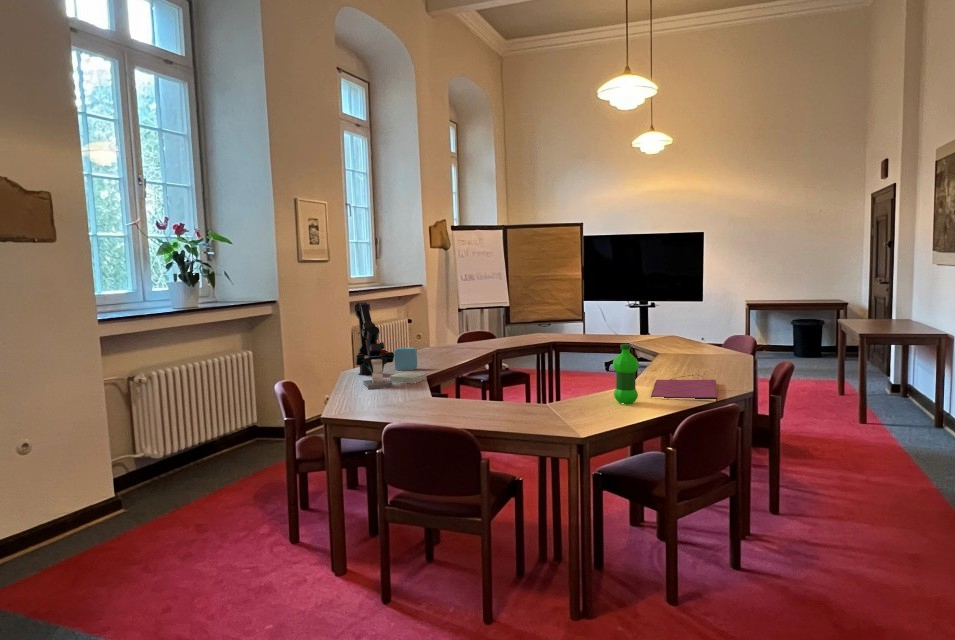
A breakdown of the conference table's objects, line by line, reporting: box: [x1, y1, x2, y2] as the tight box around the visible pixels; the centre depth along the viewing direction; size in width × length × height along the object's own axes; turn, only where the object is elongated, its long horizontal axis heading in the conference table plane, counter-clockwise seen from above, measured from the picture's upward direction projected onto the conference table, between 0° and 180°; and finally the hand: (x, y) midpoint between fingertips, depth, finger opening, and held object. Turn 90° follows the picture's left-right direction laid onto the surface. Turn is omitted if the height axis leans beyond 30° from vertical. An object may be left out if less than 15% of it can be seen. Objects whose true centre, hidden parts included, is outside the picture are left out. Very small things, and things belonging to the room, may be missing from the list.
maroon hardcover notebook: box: [650, 374, 718, 400], centre depth 300 cm, size 40×4×27 cm
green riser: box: [389, 371, 427, 384], centre depth 339 cm, size 14×12×3 cm
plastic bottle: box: [612, 343, 640, 405], centre depth 277 cm, size 10×10×25 cm
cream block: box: [371, 359, 384, 384], centre depth 327 cm, size 4×4×13 cm
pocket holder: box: [363, 378, 393, 390], centre depth 328 cm, size 12×12×2 cm
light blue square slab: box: [393, 347, 418, 371], centre depth 370 cm, size 12×4×12 cm, turn 88°
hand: (377, 372), depth 326 cm, fingers closed on cream block, 4 cm apart
